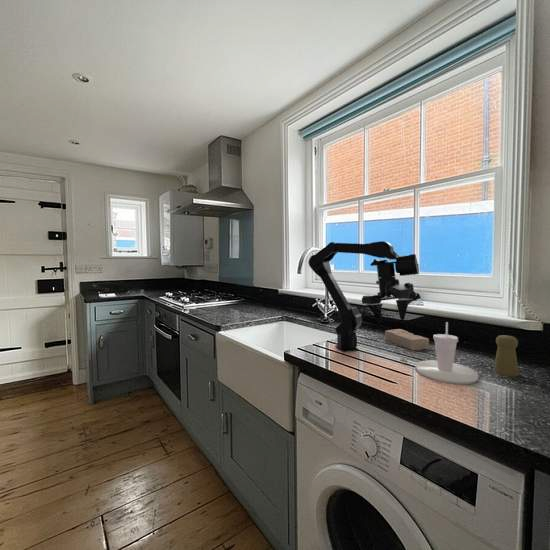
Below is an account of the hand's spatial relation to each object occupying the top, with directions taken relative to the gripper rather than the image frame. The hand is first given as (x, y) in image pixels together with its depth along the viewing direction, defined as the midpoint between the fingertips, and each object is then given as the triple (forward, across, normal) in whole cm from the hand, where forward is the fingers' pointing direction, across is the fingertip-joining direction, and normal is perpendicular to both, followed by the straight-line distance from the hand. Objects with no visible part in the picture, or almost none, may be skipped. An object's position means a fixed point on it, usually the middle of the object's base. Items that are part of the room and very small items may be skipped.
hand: (391, 321), depth 102 cm
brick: (+13, +16, +12) cm, 24 cm away
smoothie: (+13, +3, -17) cm, 22 cm away
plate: (+14, +3, -17) cm, 22 cm away
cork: (+16, +21, -22) cm, 34 cm away
